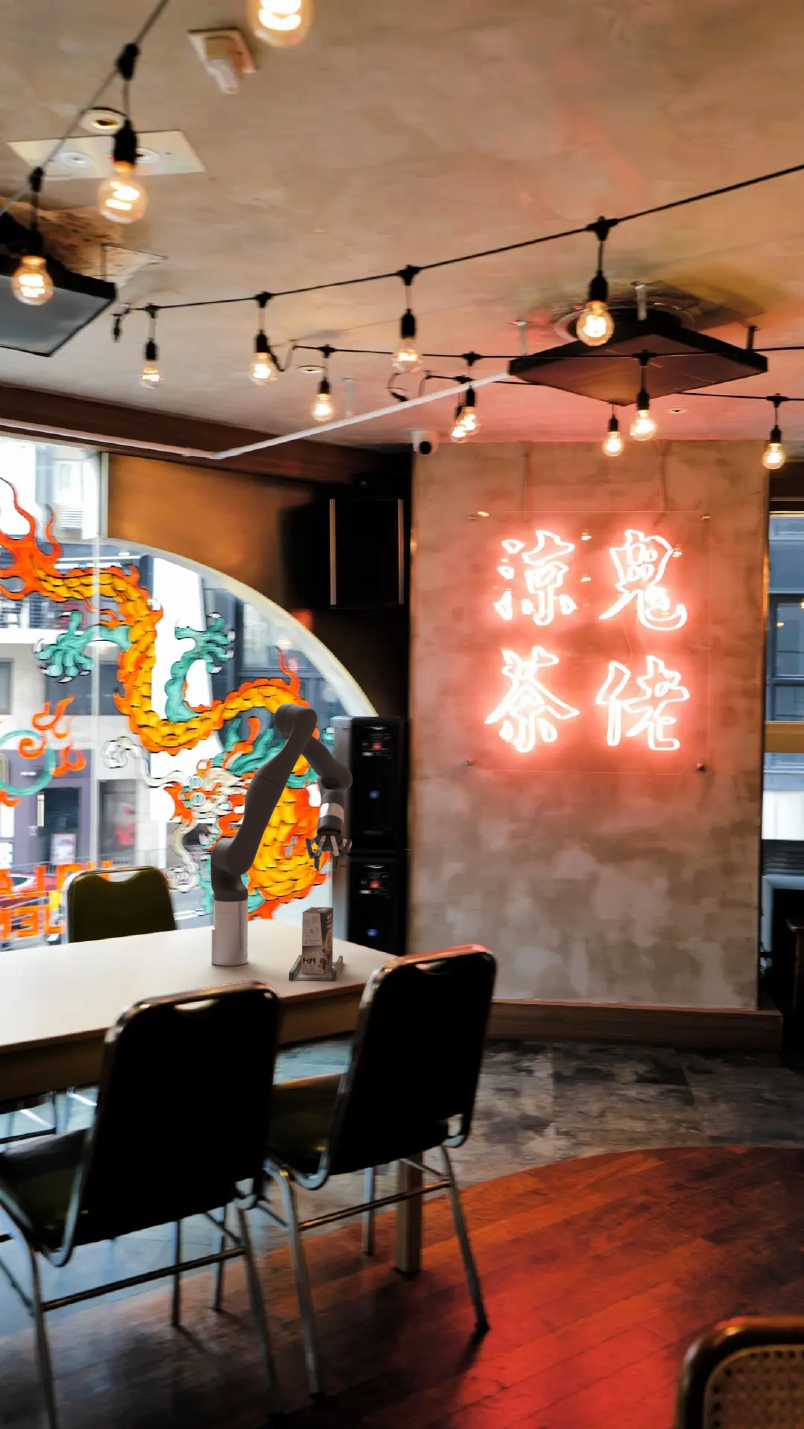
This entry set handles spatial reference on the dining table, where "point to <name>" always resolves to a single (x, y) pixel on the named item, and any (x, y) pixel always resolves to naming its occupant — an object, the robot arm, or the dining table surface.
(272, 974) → the dining table surface
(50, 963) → the dining table surface
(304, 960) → the coffee box
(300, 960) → the lane frame
